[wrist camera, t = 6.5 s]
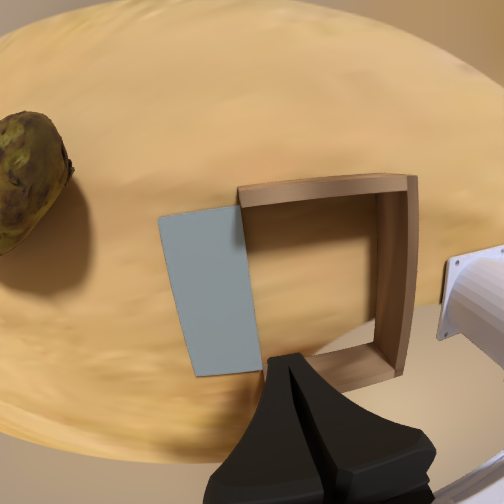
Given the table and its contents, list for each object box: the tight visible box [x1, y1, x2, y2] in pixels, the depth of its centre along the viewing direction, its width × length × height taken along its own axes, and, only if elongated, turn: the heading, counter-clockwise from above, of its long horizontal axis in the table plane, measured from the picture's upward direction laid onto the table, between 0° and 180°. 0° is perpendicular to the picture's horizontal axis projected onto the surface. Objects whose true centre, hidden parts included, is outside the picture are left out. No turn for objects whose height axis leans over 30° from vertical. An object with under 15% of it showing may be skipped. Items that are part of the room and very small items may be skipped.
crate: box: [238, 173, 419, 393], centre depth 18 cm, size 10×14×4 cm
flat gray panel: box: [158, 205, 263, 376], centre depth 19 cm, size 1×12×5 cm
